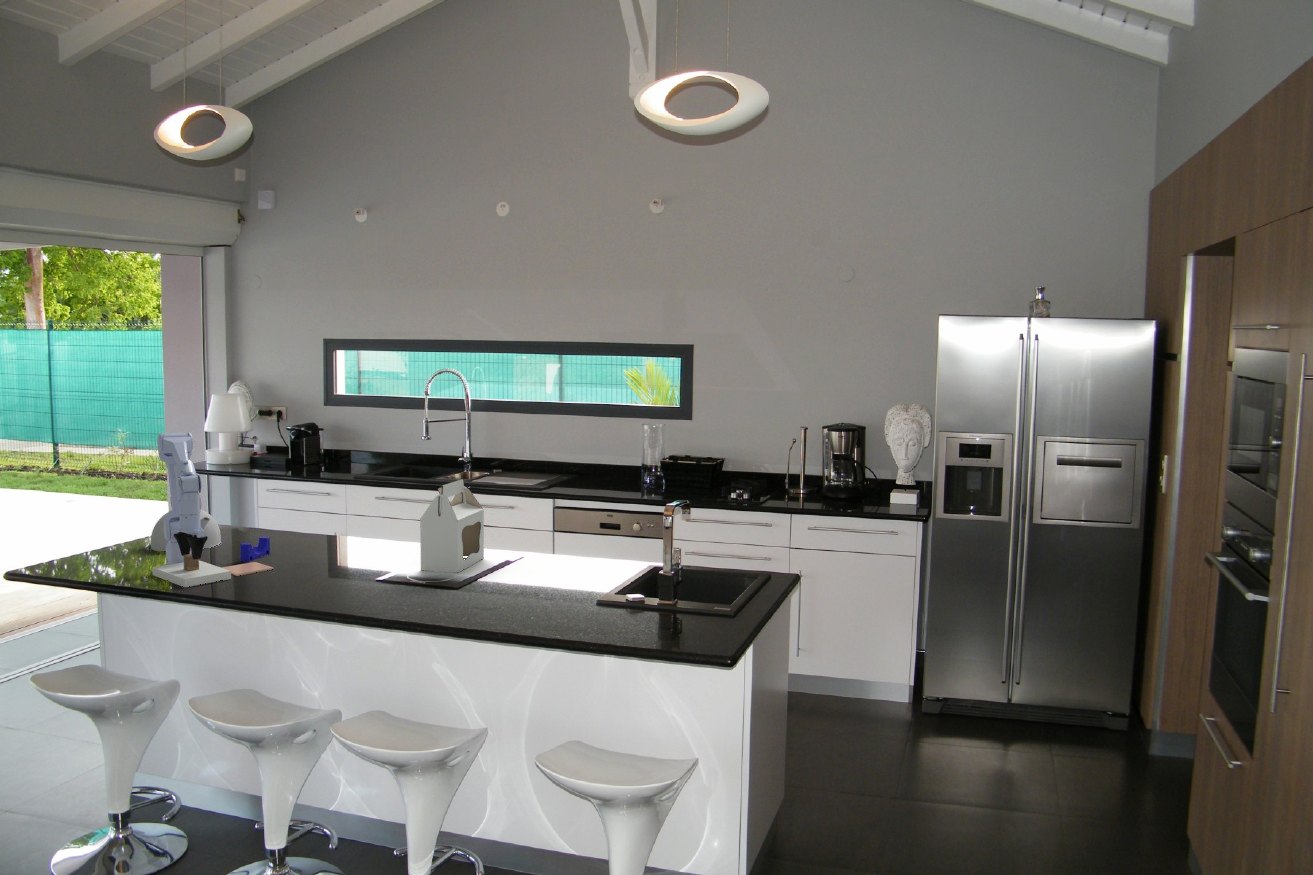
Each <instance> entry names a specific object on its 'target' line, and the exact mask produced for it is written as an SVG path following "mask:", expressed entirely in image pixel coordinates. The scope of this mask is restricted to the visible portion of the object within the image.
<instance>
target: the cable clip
mask: <svg viewBox="0 0 1313 875" xmlns="http://www.w3.org/2000/svg"><path fill="white" fill-rule="evenodd" d="M270 538H271V537H269V536H268V537H267V536H260V537H259V538H258V544H257V545H256V546H255V545H254V546H253V547H252V543H246V542H242V543H240V545H239V546H240V562H252V561H254V559H255V560H256V559H260V558H262V557H261V556H263V557H265V555H266V556H267V554H268V555H270V554H271V543H270ZM269 553H270V554H269ZM259 557H260V558H259ZM251 560H252V561H251Z"/></svg>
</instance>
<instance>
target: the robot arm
mask: <svg viewBox="0 0 1313 875" xmlns="http://www.w3.org/2000/svg"><path fill="white" fill-rule="evenodd" d="M156 440H157V444H156V445H157V453H158V458H159V460H160V461H161V462H163V463H165V466H166V467H167V474H168V482H169V492H170V493H169V494H170V497H171V501H170V504H171V503H172V506H171V510H172V511H171V510H170V511H171V512H170V513H169V514H167V515H166V516H165V518H164V536H165V539H167V540H169V541H168V543H167V544H166V552H165V564H162V566H164V565H170V564H176V563H182V562H184V557H183V555H188V554H192V558H193V559H194V560H195V559H199V560H200V559H201V558H202V556H203V551H204V550H203V547H204V544H205V542H206V541H207V539H208V537H207V536H204V530H202V528H201V527H200V497H201V496H200V497H199V494H201V492H202V488H203V486H202V485H203V484H202V479H201V476H200V474H199V473H197V472H196V469H195V468H196V467H195V465H194V463H193V461H192V460H190V459H191V456H192V451H193V448H194V439H193V434H192V433H191V432H190V431H189V432H178V433H177V432H172V433H162V432H161V433H158V435H157V439H156ZM198 492H199V493H198Z"/></svg>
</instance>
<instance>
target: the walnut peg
mask: <svg viewBox="0 0 1313 875" xmlns="http://www.w3.org/2000/svg"><path fill="white" fill-rule="evenodd" d="M183 557H184V570H186V571H192V570H198V569H199V560H200V559H195V560H194V559H193V558H192V554H188V555H183Z"/></svg>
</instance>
